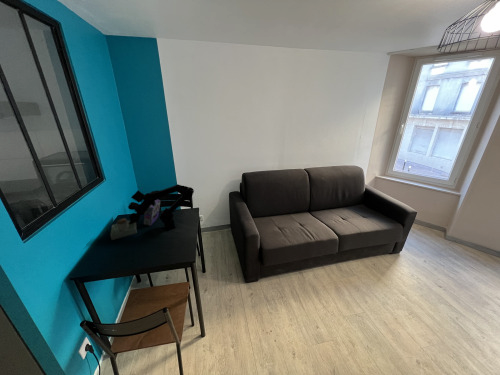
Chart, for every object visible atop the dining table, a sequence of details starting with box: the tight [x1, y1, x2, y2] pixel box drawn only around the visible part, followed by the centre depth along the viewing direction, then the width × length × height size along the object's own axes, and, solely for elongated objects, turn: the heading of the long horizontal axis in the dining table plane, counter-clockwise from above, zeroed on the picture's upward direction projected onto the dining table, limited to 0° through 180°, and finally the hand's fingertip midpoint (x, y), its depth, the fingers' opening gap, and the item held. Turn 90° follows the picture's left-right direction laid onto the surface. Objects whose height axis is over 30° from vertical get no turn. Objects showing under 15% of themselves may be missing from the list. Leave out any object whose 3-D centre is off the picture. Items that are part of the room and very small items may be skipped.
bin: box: [110, 220, 138, 241], centre depth 139 cm, size 15×15×4 cm
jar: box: [116, 218, 130, 232], centre depth 138 cm, size 6×6×8 cm
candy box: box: [142, 199, 161, 226], centre depth 149 cm, size 14×6×16 cm, turn 0°
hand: (132, 220), depth 138 cm, fingers open, 9 cm apart
